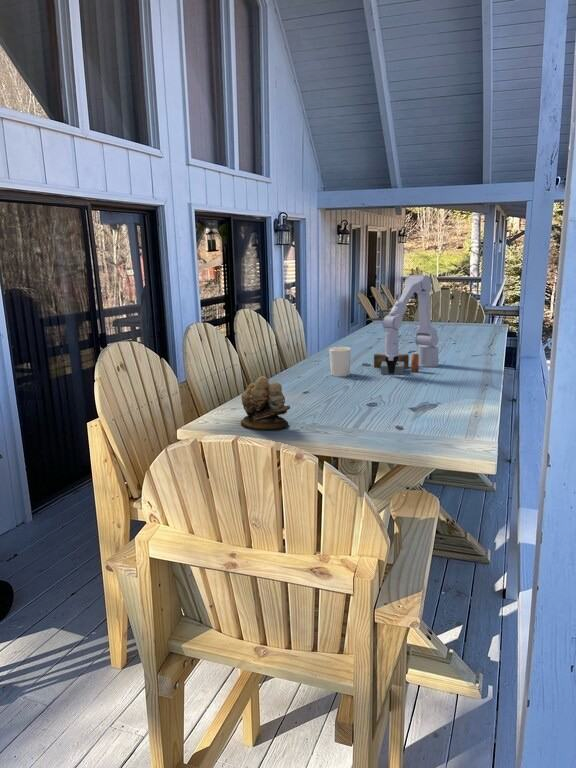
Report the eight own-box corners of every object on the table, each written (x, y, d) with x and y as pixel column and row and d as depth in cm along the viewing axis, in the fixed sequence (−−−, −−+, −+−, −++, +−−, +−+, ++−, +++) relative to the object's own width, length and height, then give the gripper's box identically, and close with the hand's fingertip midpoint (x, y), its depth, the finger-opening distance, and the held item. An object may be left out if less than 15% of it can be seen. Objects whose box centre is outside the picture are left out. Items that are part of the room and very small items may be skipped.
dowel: (418, 371, 250) (418, 353, 248) (418, 372, 247) (418, 355, 245) (411, 370, 250) (411, 353, 248) (411, 372, 247) (411, 355, 245)
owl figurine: (297, 422, 184) (295, 373, 179) (282, 434, 173) (280, 382, 169) (250, 417, 191) (247, 369, 187) (233, 427, 181) (230, 378, 177)
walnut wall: (408, 366, 259) (408, 354, 258) (408, 368, 256) (408, 355, 255) (374, 366, 263) (374, 354, 261) (373, 367, 260) (373, 355, 258)
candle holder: (343, 378, 242) (343, 351, 239) (325, 375, 248) (324, 349, 245) (355, 373, 249) (354, 347, 246) (336, 371, 255) (336, 346, 252)
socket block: (403, 370, 254) (403, 361, 253) (403, 375, 245) (403, 366, 244) (382, 369, 256) (382, 361, 255) (380, 374, 247) (380, 366, 246)
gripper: (383, 340, 246) (383, 369, 249) (381, 345, 232) (381, 377, 235) (399, 340, 244) (399, 369, 247) (398, 346, 230) (398, 377, 234)
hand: (391, 373), depth 241 cm, fingers closed
